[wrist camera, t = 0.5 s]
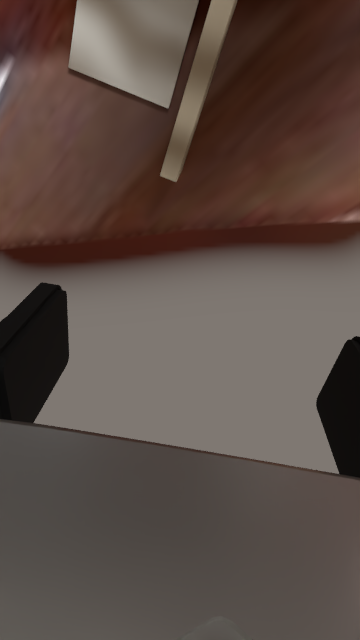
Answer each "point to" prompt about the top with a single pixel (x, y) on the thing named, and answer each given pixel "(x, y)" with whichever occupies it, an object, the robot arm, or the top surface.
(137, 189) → the top surface
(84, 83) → the top surface
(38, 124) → the top surface
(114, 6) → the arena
